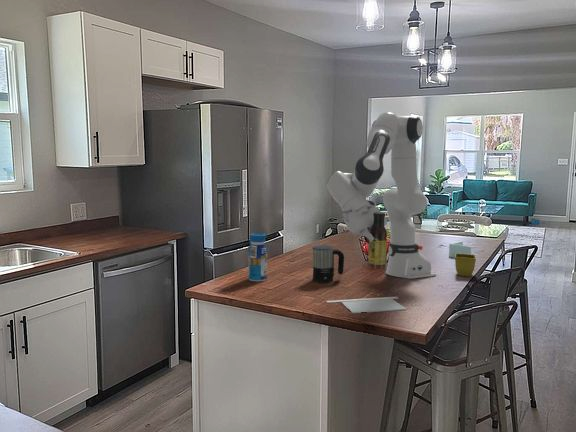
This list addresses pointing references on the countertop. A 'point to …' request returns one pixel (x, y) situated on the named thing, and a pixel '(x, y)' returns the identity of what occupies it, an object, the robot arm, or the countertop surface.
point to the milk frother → (325, 263)
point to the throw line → (361, 299)
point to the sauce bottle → (378, 242)
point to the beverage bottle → (257, 258)
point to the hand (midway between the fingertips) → (379, 238)
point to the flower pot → (465, 264)
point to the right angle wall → (458, 249)
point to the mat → (373, 306)
